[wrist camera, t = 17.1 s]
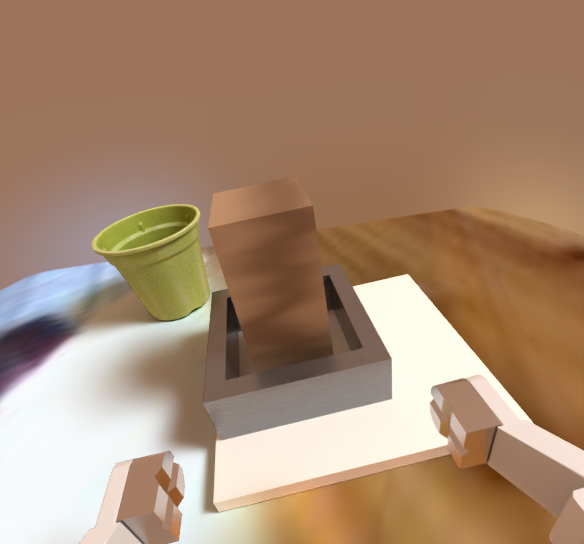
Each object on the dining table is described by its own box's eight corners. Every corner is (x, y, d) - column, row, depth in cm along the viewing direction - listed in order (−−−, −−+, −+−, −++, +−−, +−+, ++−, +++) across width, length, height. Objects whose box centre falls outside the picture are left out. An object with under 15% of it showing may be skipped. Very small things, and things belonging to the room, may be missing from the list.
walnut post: (262, 392, 22) (208, 228, 16) (257, 340, 26) (213, 193, 20) (336, 375, 22) (312, 205, 16) (320, 326, 27) (295, 176, 20)
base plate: (218, 512, 18) (213, 503, 17) (224, 325, 30) (221, 316, 30) (529, 434, 18) (533, 423, 18) (407, 283, 31) (407, 274, 30)
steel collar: (221, 440, 20) (202, 403, 18) (224, 325, 29) (212, 292, 27) (392, 399, 20) (391, 358, 18) (343, 298, 29) (340, 263, 27)
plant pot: (117, 341, 31) (68, 260, 26) (151, 282, 39) (118, 212, 34) (217, 326, 30) (185, 241, 26) (231, 270, 38) (208, 197, 34)
